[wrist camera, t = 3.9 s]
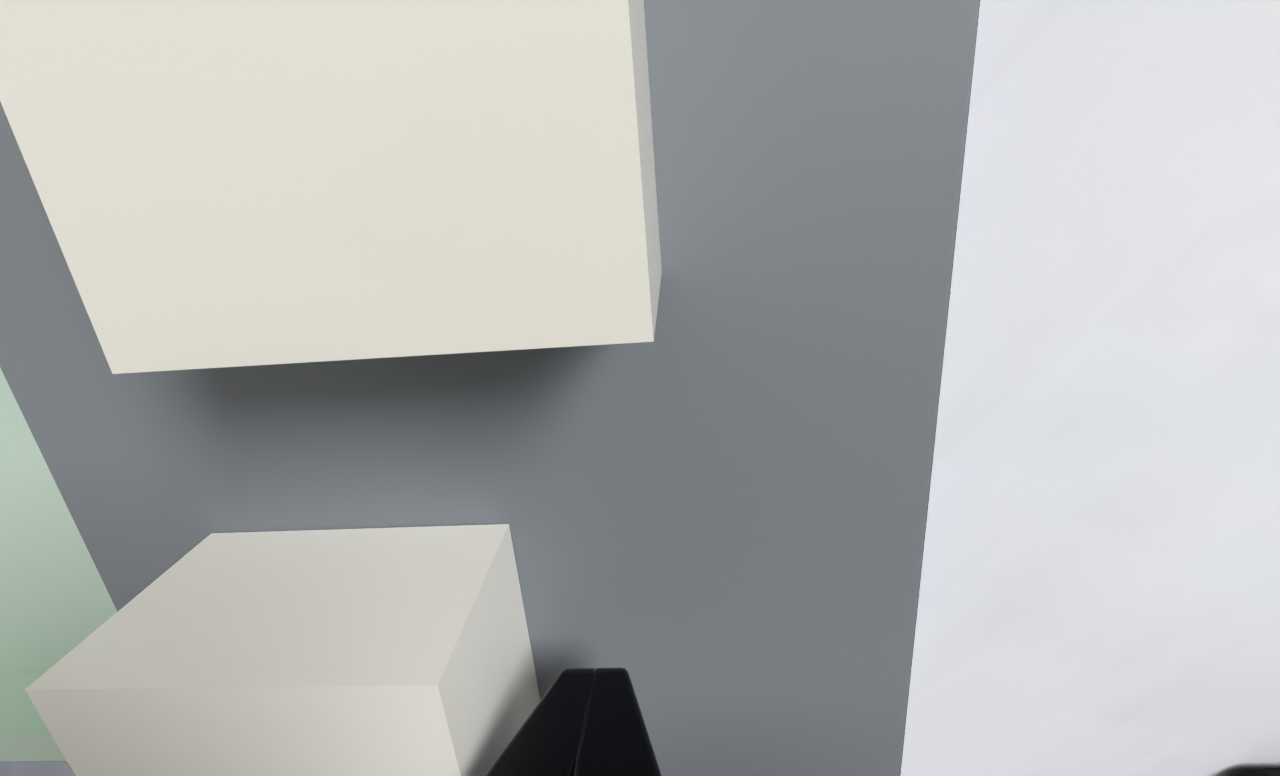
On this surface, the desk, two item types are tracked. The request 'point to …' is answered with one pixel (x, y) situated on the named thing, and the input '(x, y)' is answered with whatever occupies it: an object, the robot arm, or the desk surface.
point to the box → (37, 585)
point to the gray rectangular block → (619, 401)
